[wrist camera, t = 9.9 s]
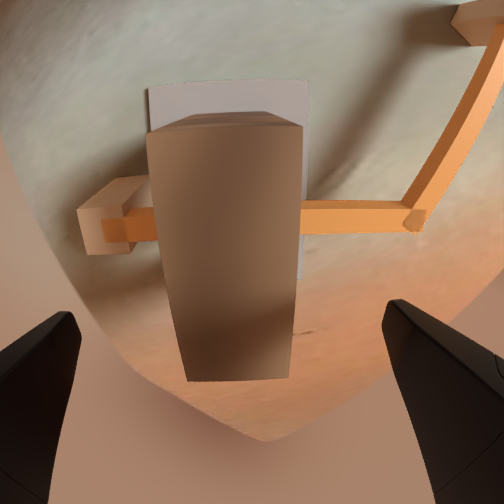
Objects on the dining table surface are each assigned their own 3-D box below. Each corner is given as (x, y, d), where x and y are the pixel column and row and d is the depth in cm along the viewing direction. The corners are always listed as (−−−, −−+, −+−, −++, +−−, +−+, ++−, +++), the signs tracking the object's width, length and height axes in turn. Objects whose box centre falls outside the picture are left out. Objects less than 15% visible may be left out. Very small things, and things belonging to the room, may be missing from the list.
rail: (101, 197, 18) (62, 234, 13) (399, -71, 10) (439, -99, 5) (249, 311, 23) (254, 368, 18) (505, 69, 14) (556, 75, 9)
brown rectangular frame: (266, 111, 16) (303, 126, 7) (266, 256, 21) (288, 377, 12) (194, 114, 16) (145, 133, 7) (204, 259, 20) (187, 381, 12)
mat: (307, 80, 16) (308, 80, 15) (300, 277, 22) (301, 279, 22) (149, 87, 15) (148, 87, 15) (171, 282, 21) (171, 284, 21)
